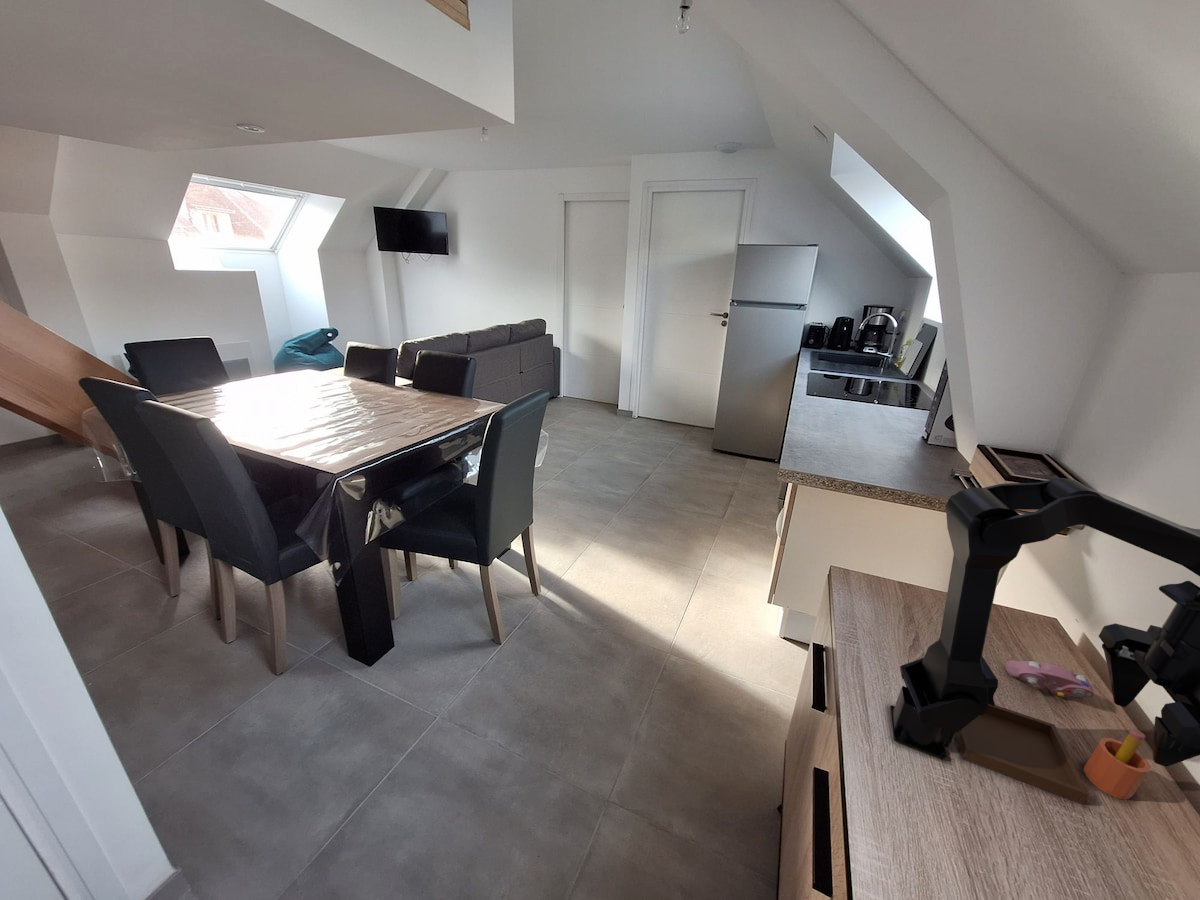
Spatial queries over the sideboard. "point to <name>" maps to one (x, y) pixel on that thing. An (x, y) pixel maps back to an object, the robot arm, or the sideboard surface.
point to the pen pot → (1115, 770)
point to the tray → (1022, 751)
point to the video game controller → (1051, 678)
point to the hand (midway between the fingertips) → (1138, 732)
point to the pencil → (1129, 746)
